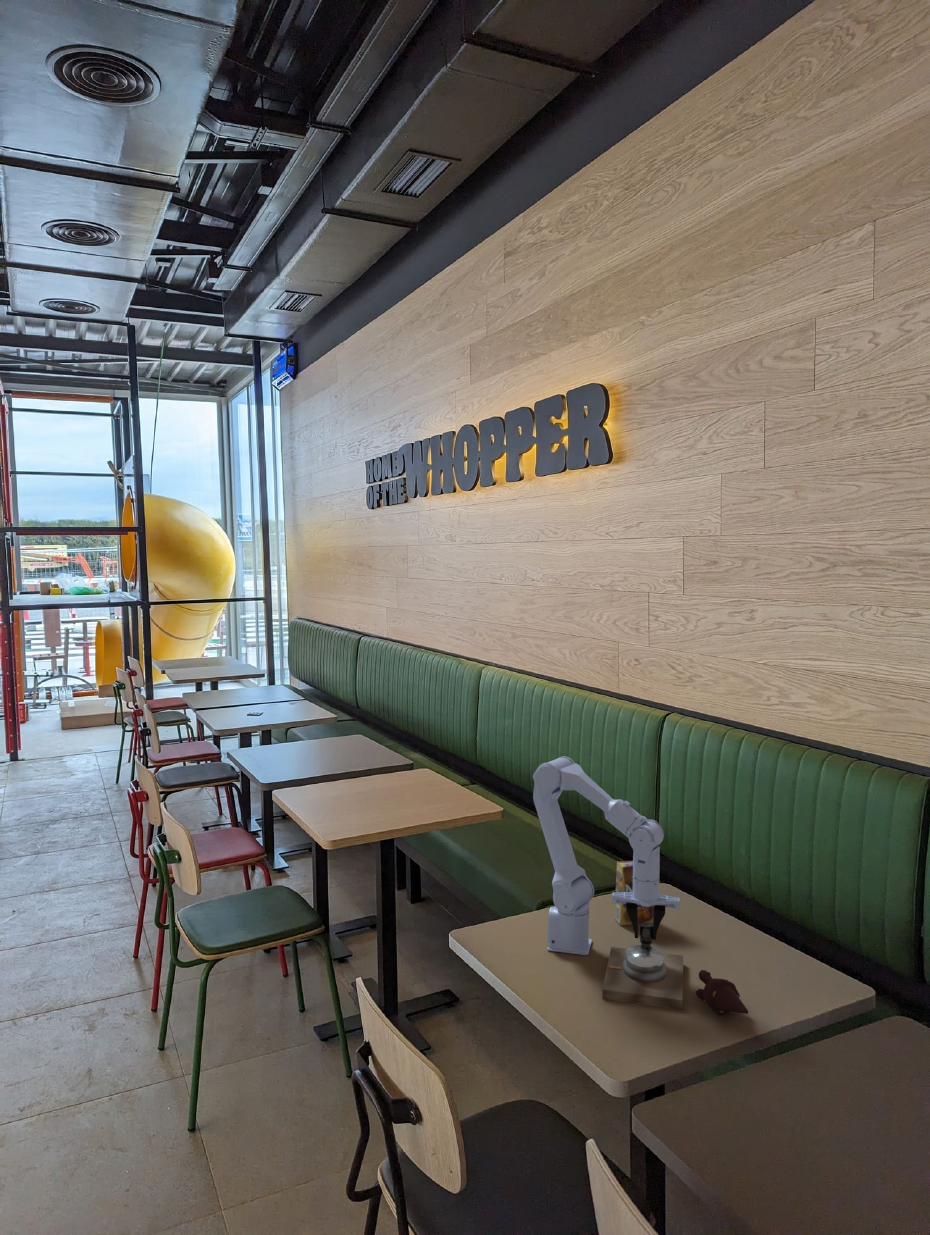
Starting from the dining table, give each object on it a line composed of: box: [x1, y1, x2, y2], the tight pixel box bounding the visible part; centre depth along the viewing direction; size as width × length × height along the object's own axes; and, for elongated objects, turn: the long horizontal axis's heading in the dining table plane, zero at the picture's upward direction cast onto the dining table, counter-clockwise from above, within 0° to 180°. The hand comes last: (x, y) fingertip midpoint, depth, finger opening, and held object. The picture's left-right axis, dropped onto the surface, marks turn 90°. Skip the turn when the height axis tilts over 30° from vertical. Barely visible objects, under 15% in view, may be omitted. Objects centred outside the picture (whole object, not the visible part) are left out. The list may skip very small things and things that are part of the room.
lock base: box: [601, 946, 684, 1011], centre depth 178 cm, size 16×20×4 cm
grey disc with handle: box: [626, 923, 664, 973], centre depth 180 cm, size 11×8×6 cm
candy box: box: [614, 860, 653, 927], centre depth 208 cm, size 9×4×15 cm, turn 102°
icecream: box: [695, 969, 749, 1017], centre depth 166 cm, size 7×7×15 cm
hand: (645, 937), depth 184 cm, fingers open, 3 cm apart
